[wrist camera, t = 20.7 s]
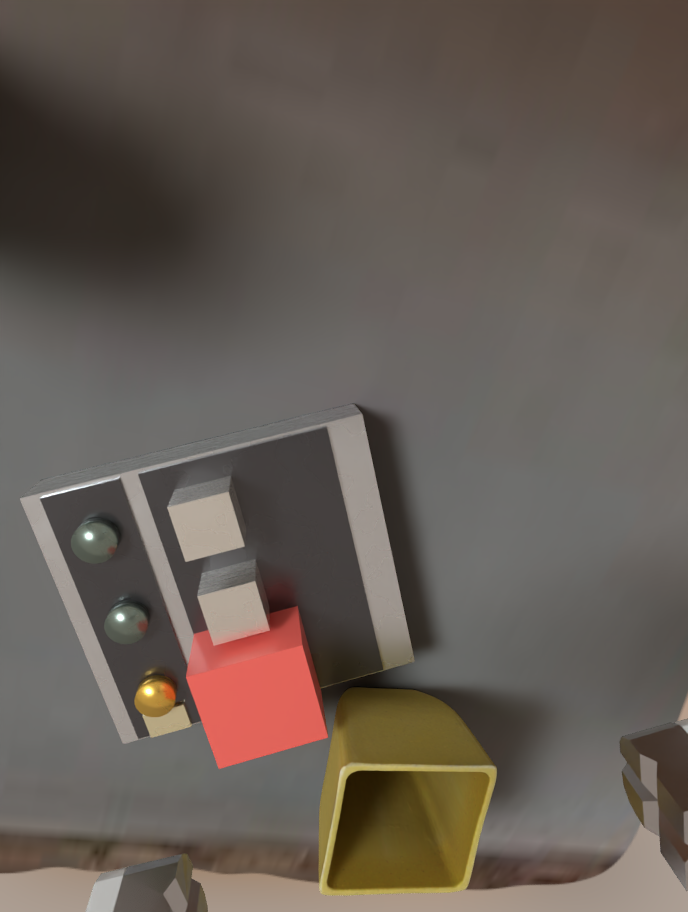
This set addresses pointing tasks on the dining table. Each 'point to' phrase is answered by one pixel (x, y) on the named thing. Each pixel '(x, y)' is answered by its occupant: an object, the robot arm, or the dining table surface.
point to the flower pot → (401, 796)
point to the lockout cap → (257, 691)
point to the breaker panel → (223, 559)
